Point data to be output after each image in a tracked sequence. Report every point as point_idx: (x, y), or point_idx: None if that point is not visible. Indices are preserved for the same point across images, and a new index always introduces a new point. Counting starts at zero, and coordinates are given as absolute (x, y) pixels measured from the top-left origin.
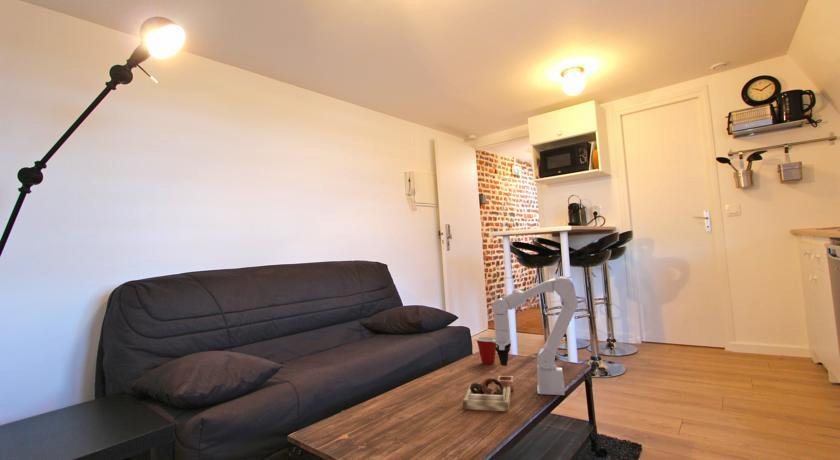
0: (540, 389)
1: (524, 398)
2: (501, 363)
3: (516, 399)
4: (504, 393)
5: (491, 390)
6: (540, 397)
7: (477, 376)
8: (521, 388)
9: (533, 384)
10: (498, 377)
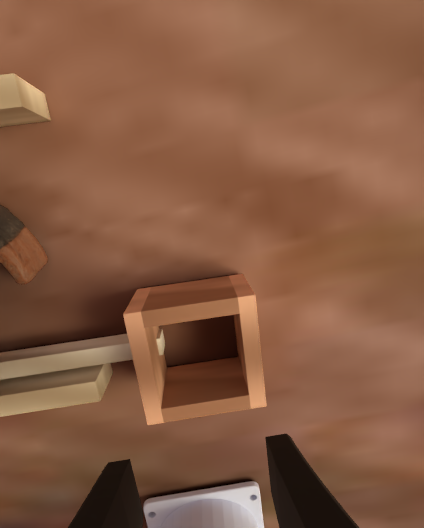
0: (171, 523)
1: (65, 449)
2: (92, 499)
3: (32, 417)
4: (10, 371)
5: (20, 279)
6: None
7: (409, 58)
8: None
9: None
10: (209, 306)
